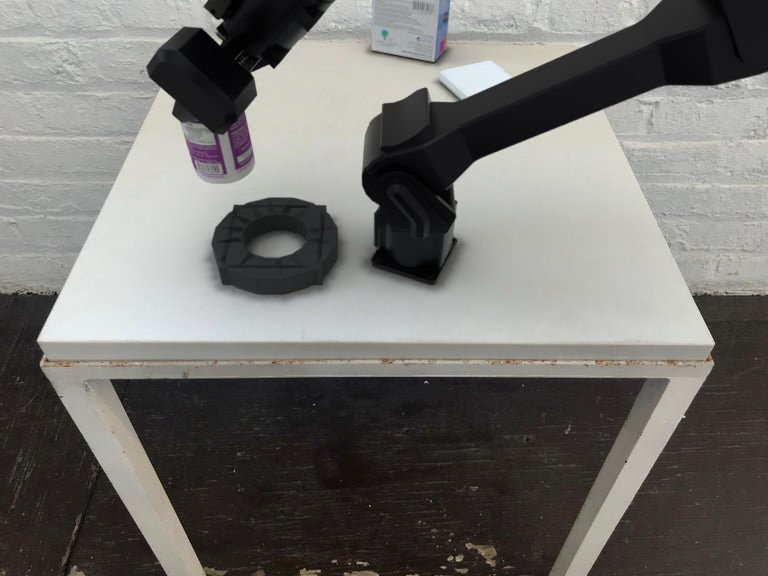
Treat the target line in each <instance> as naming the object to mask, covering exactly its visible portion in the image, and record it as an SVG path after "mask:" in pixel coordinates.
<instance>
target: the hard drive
mask: <svg viewBox="0 0 768 576" xmlns="http://www.w3.org/2000/svg"><path fill="white" fill-rule="evenodd" d="M513 77H514V76H512V75H511V74H510V73H509V72H507V71H506V70H504V68H502V67H501V66H499V65H498V64H497V63H496V62H494V60H485V61H480V62H475V63H471V64H466V65H461V66H456V67H453V68H448V69H444V70H441V71H440V72H439V82H440V83H442V84H443V86H445V87H446V88H447V89H448V90H449V91H450V92H452V94H454V95H455V96H456V97H457V98H458V99H459V101H460V100H462V99H465V98H467V97H469V96H472V95H474V94H476V93H478V92H481V91H483V90H485V89H488V88H490V87H492V86H494V85H497V84H499V83H501V82H504V81H506V80H508V79H510V78H513Z"/></svg>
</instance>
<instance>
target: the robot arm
mask: <svg viewBox="0 0 768 576" xmlns="http://www.w3.org/2000/svg"><path fill="white" fill-rule="evenodd" d="M335 2H336V0H206V2H205V3H204V4H203V8H204V9H205V10H206V11H207V12H208V13H209V14H210V15H211V16H212V17H213V18H214V19H215V20H216V21H220V20H222V22H220V24H219V25H218V26H217V27H216V28H214V32H213V33H214V34H215V36H216V37H218V39H220V40H221V42H220V43H219V42H218V41H217V40H215V39H214V37H212V36H211V35H210V33H208V32H207V31H206V30H205V29H204V28H203V27H197V26H186V25H185V26H183V27H181V28H180V29H179V30H178V31H177V32H175V33H174V34H173V35H171V37H170V38H169V39H167V40H166V41H165V42H164V43H163V44H162V45H161V46H159V48H158V49H157V50H156V52H155V53H154V55H152V57H151V59H150V60H149V62H148V63H147V64H146V66H145V68H146V71H147V76H148V78H149V79H150V80H152V81H153V82H154V83H155V84H156V85H157V86H158V87H160V88H161V90H162V91H164V92H165V94H167V95H169V97H171V98H172V99H173V100H174V104H173V108H172V111H171V115H172V116H173V117H174V118H175V119H176V120H178V121H179V123H180V122H181V123H186V122H191V121H195V120H198V121H200V122H201V123H202V124H203V125H204V126H205V127H206V128H207V129H209V130H210V131H211V132H212V133H213V134H220V135H224V134H225V133H226V132H227V131H228V130H229V129H230V128H231V126H232V125H233V124H234V123H235V122H236V121H237V120H238V119H239V118H240V116H241V115H242V114H243V113H244V111H245V112H246V110H247V109H248V107H250V106H251V104H252V103H253V101H254V100H255V99H256V98H257V96H258V91H257V90H258V89H257V85H256V80H255V79H256V78H255V77H254V75H253V74H252V73H254V72H256V71H259V70H260V69H262V68H265V67H267V66H270V68H272V69H273V70H275V69H276V68H277V67H278V65H280V64H281V63H282V61H283V60H284V59H285V58H286V56H287V55H288V54H289V53H290V51H292V49H293V47H294V46H295V45H296V44H297V43H298V42H299V41H300V40H302V39H303V38H304V37H305V35H306V34H308V33H309V32H310V31H311V30H312V29H313V28H314V27H315V25H317V23H318V22H319V21H320V19H321V18H322V17H323V16H324V14H325V13H326V12H327V11H328V10H329V8H330V7H331V6H332V5H333V4H334V3H335ZM766 73H768V0H660V1H659V2H658V3H657V4H656V5H655V6H654V7H653V8H652V9H651V10H650V11H649V12H648V13H647V14H646V15H645V16H644V17H643V18H642V19H641V20H639V21H637V22H635V23H634V24H632V25H629V26H627V27H624V28H622V29H620V30H617V31H615V32H613V33H611V34H609V35H606V36H604V37H602V38H600V39H597V40H594V41H592V42H590V43H588V44H585V45H584V46H581V47H579V48H577V49H575V50H572V51H569V52H567V53H565V54H563V55H561V56H559V57H556V58H553V59H552V60H549V61H547V62H544V63H542V64H540V65H538V66H535V67H533V68H530V69H529V70H526V71H524V72H522V73H518V74H517V75H515V76H512V77H513V78H510V79H508V80H506V81H504V82H501V83H499V84H497V85H494V86H492V87H490V88H488V89H485V90H483V91H481V92H478V93H476V94H474V95H472V96H469V97H467V98H465V99H462V100H460V99H459V100H456V101H434V100H433V101H432V99H431V94H430V92H429V89H428V88H427V87H422V88H419V89H416V90H415V91H413V92H412V93H410V94H408V96H405V97H404V98H402V99H400V100H397V101H393V102H384V103H382V104H381V112H380V113H378V114H377V115H376V116H374V117H373V118H372V119H371V120H370V121H369V123H368V126H367V127H366V131H365V133H364V139H363V140H364V141H363V153H362V166H361V187H362V190H363V191H364V194H365V195H366V196H367V198H369V199H370V201H371V202H373V203H375V204H376V205H378V207H377V208H376V209H375V211H374V212H373V246H374V248H377V249H376V250H375V252H374V253H373V254H372V256H371V258H370V264H371V265H372V266H373V267H375V268H379V269H382V270H385V271H388V272H392V273H394V274H398V275H400V276H404V277H408V278H410V279H414V280H416V281H420V282H423V283H426V284H429V285H435V284H436V283H437V282H438V281H439V279H440V277H441V275H442V273H443V272H444V269H445V267H446V266H447V264H448V261H449V260H450V258H451V256H452V254H453V252H454V250H455V249H456V247H457V245H458V239H457V238H456V237H454V230H455V225H456V224H455V222H456V220H457V207H458V200H456V199H455V197H456V196H455V187H454V186H455V185H454V183H456V181H458V179H460V177H461V176H462V175H463V174H464V173H466V171H468V169H469V168H470V167H471V166H472V165H474V163H476V162H478V161H479V160H480V159H483V158H485V157H488V156H490V155H491V156H492V155H493V154H496V153H498V152H500V151H503V150H506V149H508V148H512V147H513V146H516V145H519V144H521V143H523V142H526V141H529V140H531V139H534V138H536V137H538V136H541V135H544V134H546V133H548V132H549V133H550V132H551V131H553V130H555V129H558V128H561V127H564V126H566V125H568V124H571V123H574V122H576V121H578V120H580V119H584V118H587V117H588V116H591V115H594V114H597V113H599V112H601V111H603V110H606V109H609V108H611V107H614V106H616V105H618V104H621V103H624V102H627V101H628V100H631V99H634V98H636V97H638V96H642V95H643V94H646V93H648V92H651V91H654V90H656V89H659V88H663V87H717V86H721V85H725V84H728V83H733V82H736V81H737V82H738V81H741V80H745V79H748V78H752V77H757V76H761V75H763V74H766Z"/></svg>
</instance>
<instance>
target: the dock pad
mask: <svg viewBox="0 0 768 576" xmlns="http://www.w3.org/2000/svg"><path fill="white" fill-rule="evenodd" d="M327 209H328V207H327V205H326V204H316V203H314V202H311V201H307V200H303V199H301V198H296V197H292V196H291V197H289V196H288V197H287V196H285V197H283V196H281V197H279V196H278V197H275V196H274V197H271V196H270V197H265V198H261V199H257V200H252V201H248V202H246V203H244V204H233V207H232V210H231V211H229V212H228V213H227V214H226V215H225V216H224V217H223V219H222V220H221V221H219V223H218V224H217V225H216V226H215V228H214V232H213V235H212V239H211V243H210V244H211V247H212V252H213V256H214V260H215V263H216V266H217V270H218V273H219V278H220V281H221V285H232V286H234V287H235V288H237V289H241V290H243V291H247V292H250V293H253V294H256V295H285V294H289V293H293V292H296V291H300V290H304V289H306V288H309V287H311V286H312V285H314V286H315V285H317V286H319V285H320V286H321V285H322V286H323V284H324V283H323V282H324V277H326V276H327V275H328V274H329V272H330V271H331V269H332V268H333V266H334V265H335V263H336V261H337V260H338V254H339V253H338V251H339V233H338V232H339V231H338V227H337V224H336V223H335V221H334V219H333V217H332V216H331V214H330V213H329V212H328V210H327ZM272 231H288V232H293V233H296V234H298V235H300V236H301V237H302V238H304V239H305V240H306V241H305V243H304V244H303V245H302V246H301V248H299V249H297V250H295V251H294V252H292V253H291V254H286V255H283V256H278V257H277V256H275V257H273V256H272V257H267V256H265V257H264V256H261V255H258V254H255V253H253V252H251V251H250V250H249V249H248V248H247V246H248V245H249V244H250V243H251V241H252V240H253V239H254V238H257V237H259V236H260V235H262V234H264V233H268V232H272Z"/></svg>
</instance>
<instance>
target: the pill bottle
mask: <svg viewBox="0 0 768 576" xmlns="http://www.w3.org/2000/svg"><path fill="white" fill-rule="evenodd" d="M179 123H180V127H181V130H182V134H183V137H184V140H185V144H186V147H187V150H188V155H189V156H190V160H191V164H192V166H193V169H194V172H195V174H196V176H197V177H198V178H199V179H200V180H202V181H203V182H205V183H209V184H212V185H224V184H225V185H227V184H232V183H236V182H239V181H241V180H243V179H244V178H246V177H247V176H249V175H250V174H251V172H252V171H253V170H254V168H255V165H256V159H255V153H254V148H253V143H252V140H251V139H252V138H251V134H250V129H249V125H248V119H247V115H246V110H245V111H244V113H243V114H242V115H241V116H240V118H239V119H238V120H237V121H236V122H235V123H234V124H233V125H232V126H231V128H230V129H229V130H228V131H227V132H226V133H225V134H224V135H220V134H213V133H212V132H211V131H210V130H209V129H207V128H206V127H205V126H204V125H203V124H202V123H201V122H200V121H198V120H195V121H191V122H186V123H181V122H180V121H179Z"/></svg>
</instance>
